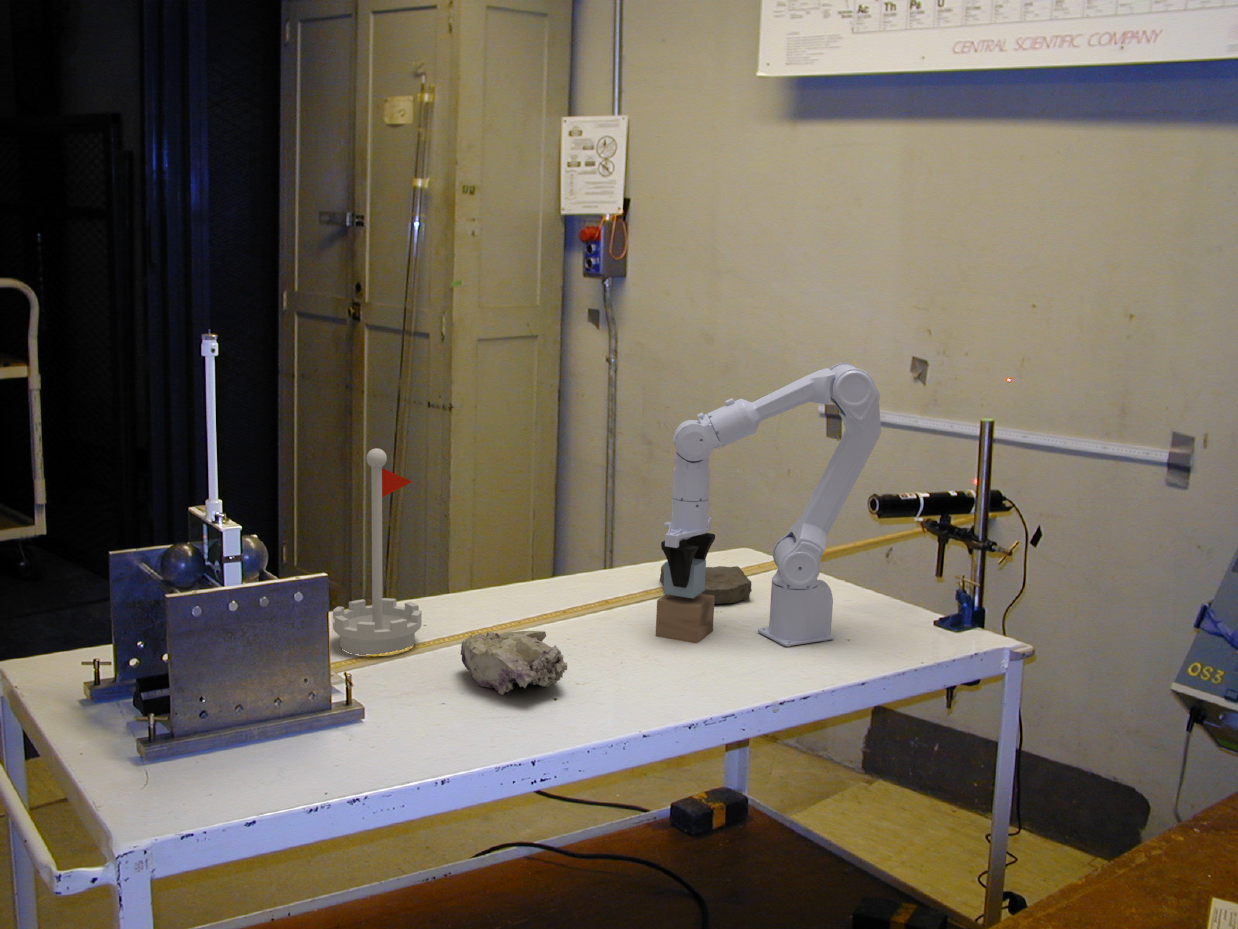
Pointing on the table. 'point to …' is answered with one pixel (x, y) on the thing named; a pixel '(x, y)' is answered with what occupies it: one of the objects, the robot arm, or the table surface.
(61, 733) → the table surface
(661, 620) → the wood grain block
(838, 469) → the robot arm
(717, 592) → the flat brown rock
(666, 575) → the slate cube
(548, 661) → the geode
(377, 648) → the flag stand
